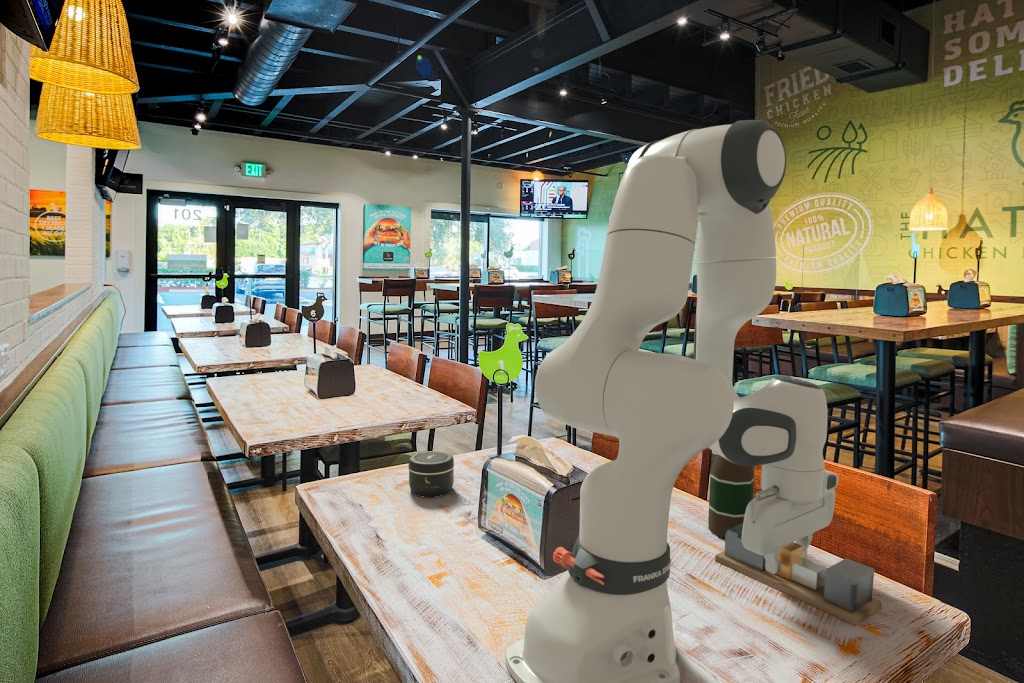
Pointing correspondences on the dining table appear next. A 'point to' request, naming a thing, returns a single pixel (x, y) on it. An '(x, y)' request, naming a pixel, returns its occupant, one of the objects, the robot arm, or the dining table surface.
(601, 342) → the robot arm
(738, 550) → the grey u-shaped bracket
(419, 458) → the jar
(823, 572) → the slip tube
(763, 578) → the board
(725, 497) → the beer bottle
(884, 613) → the dining table surface
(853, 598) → the socket
